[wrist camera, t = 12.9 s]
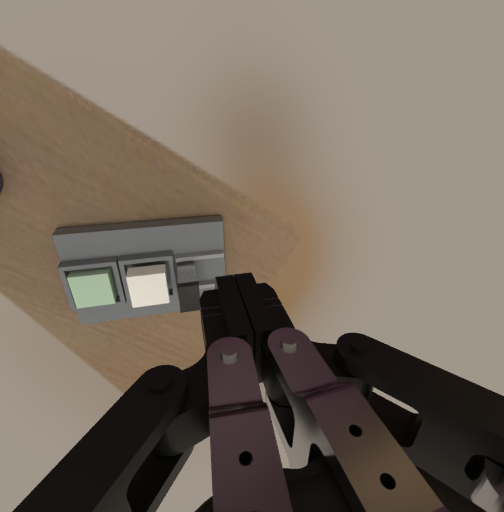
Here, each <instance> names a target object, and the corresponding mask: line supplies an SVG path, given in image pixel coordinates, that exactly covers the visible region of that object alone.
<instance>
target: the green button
mask: <svg viewBox="0 0 504 512" xmlns="http://www.w3.org/2000/svg"><path fill="white" fill-rule="evenodd" d="M67 280H68V283H69V286H70V289H71V292H72V295H73V298H74V301H75V304H76V307H77V309H78V308H85V307H93V306H100V305H108V304H115V303H116V299H117V294H118V293H117V289H116V285H115V281H114V276H113V272H112V268H111V266H109V267H100V268H90V269H81V270H71V271H70V273H69V275H68V277H67Z"/></svg>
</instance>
